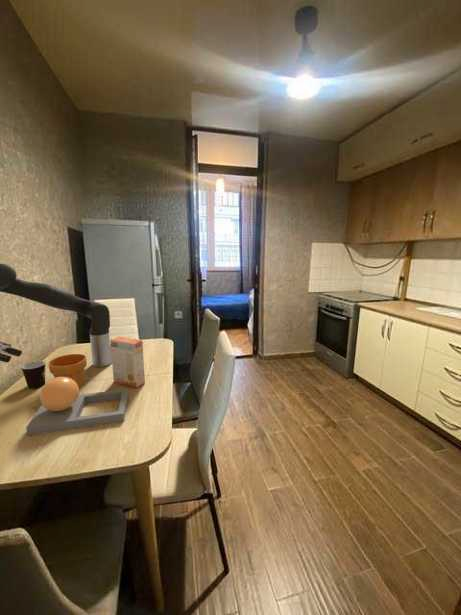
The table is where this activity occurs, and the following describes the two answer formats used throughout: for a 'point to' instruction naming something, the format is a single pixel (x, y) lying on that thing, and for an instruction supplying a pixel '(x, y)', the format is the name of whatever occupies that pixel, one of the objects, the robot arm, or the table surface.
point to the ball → (59, 394)
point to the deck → (78, 414)
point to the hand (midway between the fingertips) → (15, 356)
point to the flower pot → (69, 367)
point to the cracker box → (127, 361)
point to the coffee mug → (34, 374)
